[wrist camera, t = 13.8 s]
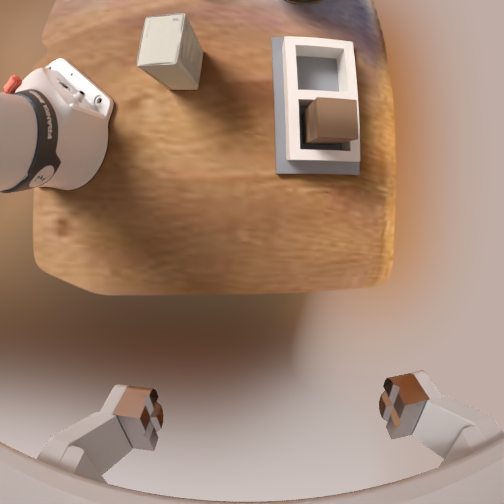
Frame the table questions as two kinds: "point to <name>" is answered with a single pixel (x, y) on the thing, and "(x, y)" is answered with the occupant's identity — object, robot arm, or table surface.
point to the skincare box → (171, 52)
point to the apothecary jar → (303, 1)
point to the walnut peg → (330, 121)
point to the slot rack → (303, 94)
